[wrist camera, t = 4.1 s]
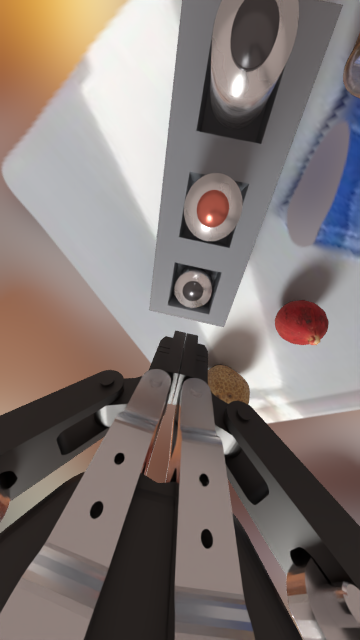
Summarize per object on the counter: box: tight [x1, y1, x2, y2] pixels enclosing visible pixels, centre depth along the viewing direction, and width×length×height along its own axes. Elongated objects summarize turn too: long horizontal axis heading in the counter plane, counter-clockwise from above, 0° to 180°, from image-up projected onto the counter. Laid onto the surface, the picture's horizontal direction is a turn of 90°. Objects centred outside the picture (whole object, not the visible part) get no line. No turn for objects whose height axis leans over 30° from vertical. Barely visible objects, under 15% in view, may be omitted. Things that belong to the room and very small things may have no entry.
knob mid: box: [184, 173, 243, 241], centre depth 15 cm, size 4×4×4 cm
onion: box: [275, 300, 328, 345], centre depth 23 cm, size 6×6×8 cm
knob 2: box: [210, 0, 299, 129], centre depth 11 cm, size 4×4×4 cm
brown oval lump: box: [208, 365, 250, 404], centre depth 30 cm, size 9×9×10 cm
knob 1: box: [174, 266, 212, 308], centre depth 22 cm, size 4×4×4 cm
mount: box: [149, 0, 343, 327], centre depth 19 cm, size 10×24×6 cm, turn 170°
